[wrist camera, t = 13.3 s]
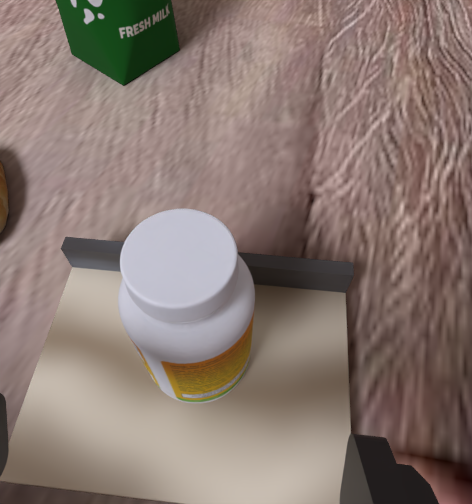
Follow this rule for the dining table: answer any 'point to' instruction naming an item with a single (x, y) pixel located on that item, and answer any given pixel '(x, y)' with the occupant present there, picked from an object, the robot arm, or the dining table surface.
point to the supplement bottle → (187, 304)
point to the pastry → (3, 199)
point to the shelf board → (191, 414)
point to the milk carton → (120, 34)
